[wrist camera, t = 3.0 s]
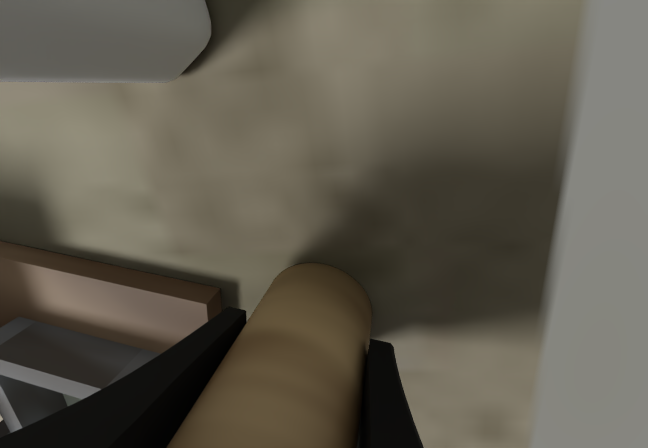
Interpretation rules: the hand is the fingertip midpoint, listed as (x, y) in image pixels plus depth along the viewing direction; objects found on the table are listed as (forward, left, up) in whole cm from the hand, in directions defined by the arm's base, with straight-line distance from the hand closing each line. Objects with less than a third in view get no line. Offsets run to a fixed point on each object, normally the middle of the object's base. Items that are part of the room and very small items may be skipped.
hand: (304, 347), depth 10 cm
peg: (0, 0, -2) cm, 2 cm away
